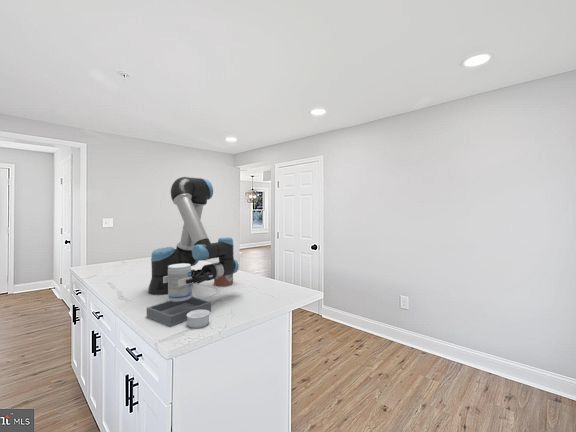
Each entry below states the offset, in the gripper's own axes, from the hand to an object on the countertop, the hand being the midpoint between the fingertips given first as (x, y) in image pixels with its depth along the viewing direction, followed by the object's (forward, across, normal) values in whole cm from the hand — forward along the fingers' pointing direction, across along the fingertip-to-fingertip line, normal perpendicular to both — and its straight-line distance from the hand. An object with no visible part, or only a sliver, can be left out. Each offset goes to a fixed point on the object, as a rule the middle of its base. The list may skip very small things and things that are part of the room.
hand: (170, 281), depth 117 cm
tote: (-4, 0, -15) cm, 16 cm away
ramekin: (-2, -14, -16) cm, 21 cm away
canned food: (-48, +20, -15) cm, 54 cm away
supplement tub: (-4, 0, -9) cm, 10 cm away
